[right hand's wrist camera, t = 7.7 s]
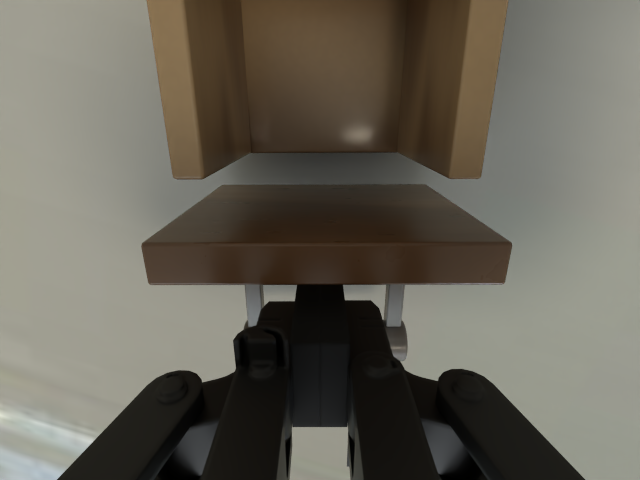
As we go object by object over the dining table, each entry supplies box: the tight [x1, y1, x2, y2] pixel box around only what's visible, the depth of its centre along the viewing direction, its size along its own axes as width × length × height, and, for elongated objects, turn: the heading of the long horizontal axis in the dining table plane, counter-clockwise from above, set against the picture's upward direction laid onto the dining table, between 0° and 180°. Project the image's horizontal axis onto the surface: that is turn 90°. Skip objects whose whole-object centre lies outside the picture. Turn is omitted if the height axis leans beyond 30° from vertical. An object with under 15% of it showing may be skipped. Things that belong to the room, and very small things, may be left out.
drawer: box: [141, 0, 512, 361], centre depth 11 cm, size 21×9×8 cm, turn 0°
